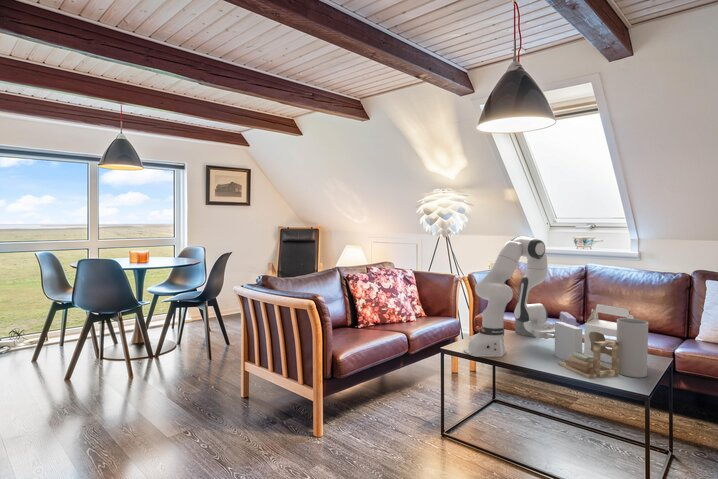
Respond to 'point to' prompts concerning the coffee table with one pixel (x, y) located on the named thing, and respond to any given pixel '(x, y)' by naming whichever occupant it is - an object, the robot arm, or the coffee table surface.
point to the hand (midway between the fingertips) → (561, 336)
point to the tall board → (567, 340)
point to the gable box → (602, 329)
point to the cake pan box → (567, 318)
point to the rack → (596, 361)
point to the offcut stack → (581, 362)
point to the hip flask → (521, 329)
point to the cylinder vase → (632, 347)
